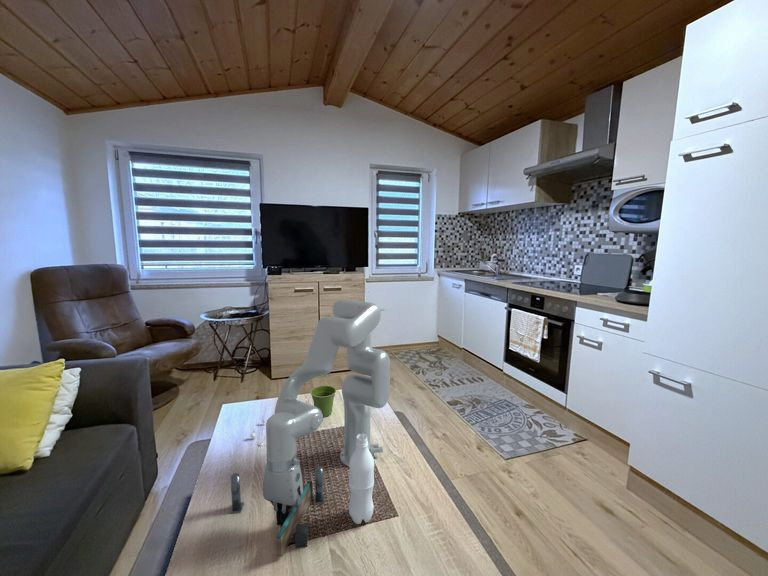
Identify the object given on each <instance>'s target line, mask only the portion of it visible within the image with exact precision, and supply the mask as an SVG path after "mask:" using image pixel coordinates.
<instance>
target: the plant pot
mask: <svg viewBox="0 0 768 576" xmlns="http://www.w3.org/2000/svg"><path fill="white" fill-rule="evenodd" d="M309 393H310V396H311V398H312V401H313V406H315V407H317V408H319V409H320V410H321V412H322V414H323V418H327V417H328V416H331V415H332V412H333V406H334V399H335V396H336V393H337V389H336V387H334V386H332V385H326V384H325V385H318V386H315V387H313V388H312V389H311V390H310V392H309Z"/></svg>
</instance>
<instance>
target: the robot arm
mask: <svg viewBox="0 0 768 576" xmlns="http://www.w3.org/2000/svg"><path fill="white" fill-rule="evenodd" d="M332 315H333V316H324V317H321V318H320V319H319V320H318V322H317V324H316V326H315V330H314V333H313V336H312V338H311V341H310V344H309V348H308V351H307V352H306V356H305V359H304V361H303V364H302V365H301V366H299V367H298V368H297V369H296V370H294V371H293V373H292V374H290V376H289V377H288V378H287V379H286V381H285V382H284V383H283V385H282V387H281V389H280V392H279V394H278V398H277V400H276V403H275V407H274V414H272V415H271V416H269V417H268V419H266V422H265V434H266V435H265V437H266V438H265V439H266V442H265V443H266V463H265V466H264V468H263V469H264V470H263V476H262V495H263V496H262V497H263V498H264V499H265V500H266V501H268V502H269V503H270V504H271V506H273V511H274V512H275V519H276V526H280V527H282V525H283V524H284V522H285V520H286V518H287V517H288V515H289V513H290V510H291V509H292V508H298V507H299V506H300V504H301V501H300V497H299V496H302V494H303V489H304V485H303V475H302V469H301V465H300V464H301V460H300V458H298V456H297V440H298V439H300V438H304V437H306V436H308V435H311V434H313V433H315V432H316V431H317V430H318V429H319V428H320V426H321V425H322V423H323V418H324V417H323V414H322V412H321V410H320V409H319V408H317V407H315V406H314V404H313V405H312V404H309V403H306V402H303V401H301V400H298V399H297V398H298V396H299V393H300V391H301V389H302V388H303V386H304V385H305V384H306V383H307V382H309V381H310V380H312V379H314V378H317V377H321V376H325V375H327V374H330V373H331V372H332V370H333V367H334V364H335V361H336V359H337V355H338V351H339V348H340V347H341V348H342V347H343V348H346V366H347V368H348V370H349V371H351V372H353V373H351V374H347V376H345V378H344V379H343V381H342V383H341V395H342V399H343V407H344V408H343V409H344V417H343V418H344V425H343V426H344V431H343V432H344V434H343V437H344V438H343V439H344V440H343V441H344V444H343V445H344V447H343V448H342V450H340V453H339V457H340V458H339V460H340V461H341V463H342V464H343V465H344V466H346V467H349V462H350V458H351V456H352V454H353V453H354V451H355V449H356V441H357V435H358V434H366V435H367V441H368V449H369V451H370V453H371V455H372V457H373V459H374V458H375V454H377V453H378V454H380V453H381V454H382V453H384V452H383V451H384V449H383V446H379V444H378V443H375V444H373V443H371V418H372V417H371V416H372V415H371V408H373V409H382V408H383V407H385V406H386V405H387V403H388V401H389V397H390V387H391V358H390V356H389V353H388V352H387V351H385V350H383V349H379V348H374V347H372V343H371V341H372V340H371V337H372V336H371V333H372V332H373V331H374V330H375V329H376V328H377V326H378V325H379V323H380V320H381V317H382V312H381V309H380V307H379V306H378V305H377V304H375V303H372V302H367V301H361V300H360V301H359V300H352V299H338V300H336V301H335V302H334V303H333V305H332Z"/></svg>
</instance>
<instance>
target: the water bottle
mask: <svg viewBox="0 0 768 576" xmlns="http://www.w3.org/2000/svg"><path fill="white" fill-rule="evenodd" d="M348 467H349V471H348V472H349V478H348V479H349V480H348V487H349V490H350V498H349V504H348V513H349V514H348V515H349V517H350V518H351V519H352V521H353V523H355V524H357V525H360V524H362V521H363V522H364V523H365V524H366V523H368V522H370V520H371V519H372V517H373V514H374V507H375V505H374V502H373V491H374V486H375V478H374V477H375V475H374V474H375V461H374V459H373V457H372V455H371V453H370V451H369V449H368V441H367V435H366V434H358V435H357V441H356V449H355V451H354V453H353V454H352V456H351V458H350V462H349V466H348Z"/></svg>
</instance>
